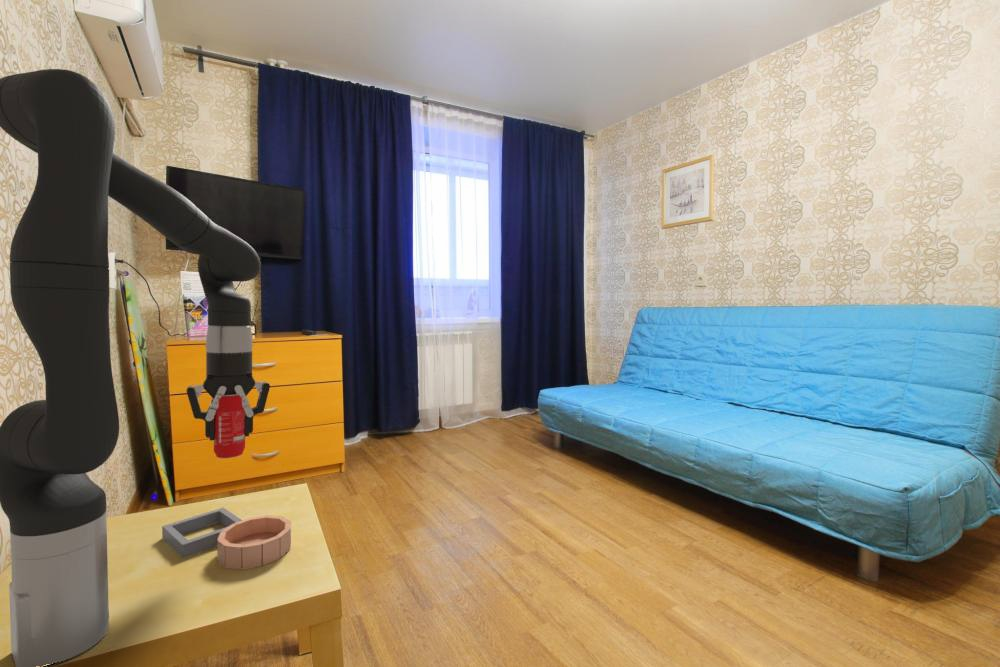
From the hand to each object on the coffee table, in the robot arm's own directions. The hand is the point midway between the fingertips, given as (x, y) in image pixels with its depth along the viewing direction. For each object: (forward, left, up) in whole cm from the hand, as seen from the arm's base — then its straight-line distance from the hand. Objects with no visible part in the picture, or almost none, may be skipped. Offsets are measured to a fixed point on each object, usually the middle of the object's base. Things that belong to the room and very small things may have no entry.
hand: (229, 437), depth 86 cm
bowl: (+2, -6, -21) cm, 22 cm away
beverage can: (0, 0, -4) cm, 4 cm away
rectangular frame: (-2, +7, -21) cm, 22 cm away
